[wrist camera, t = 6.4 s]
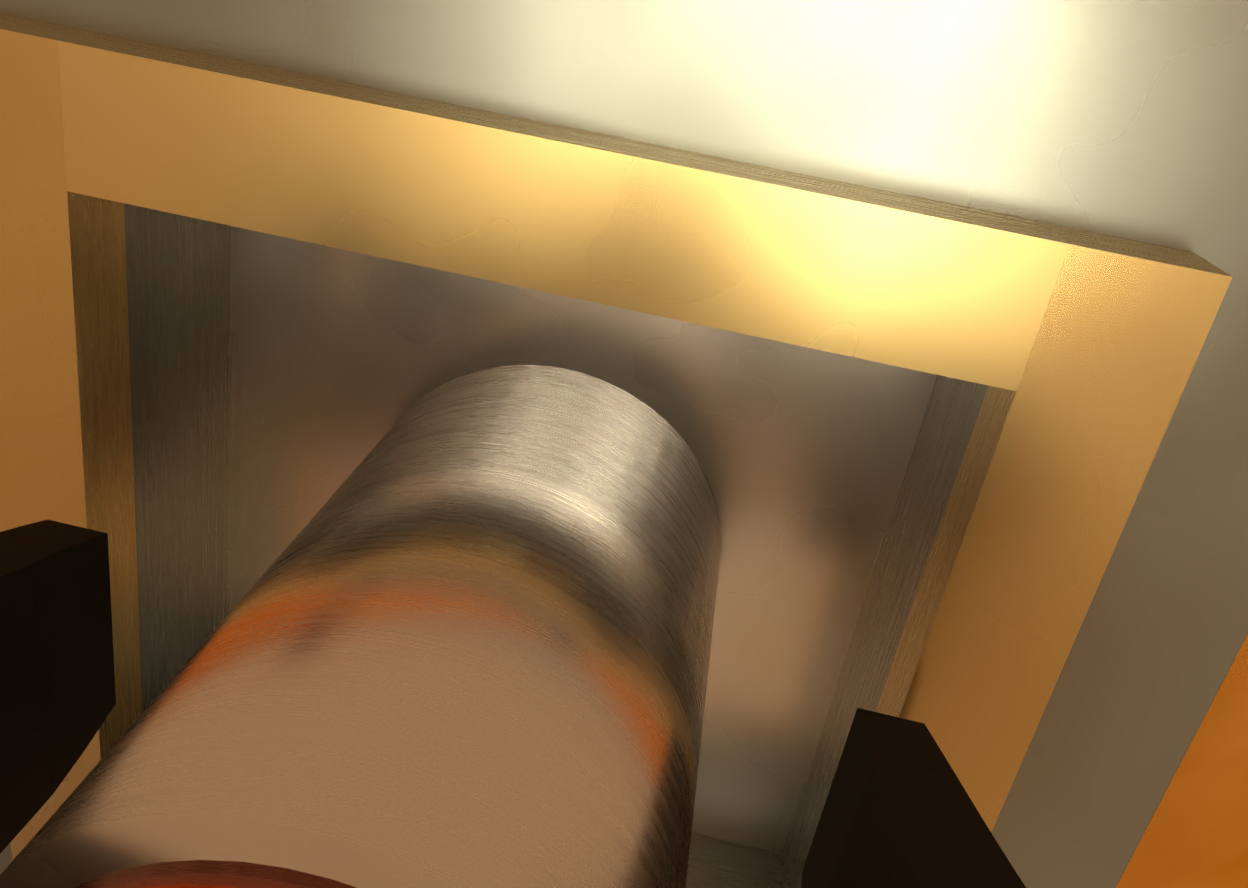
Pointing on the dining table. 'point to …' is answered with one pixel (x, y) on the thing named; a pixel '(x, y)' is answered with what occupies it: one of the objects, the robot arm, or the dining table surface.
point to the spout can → (439, 672)
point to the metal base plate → (682, 344)
